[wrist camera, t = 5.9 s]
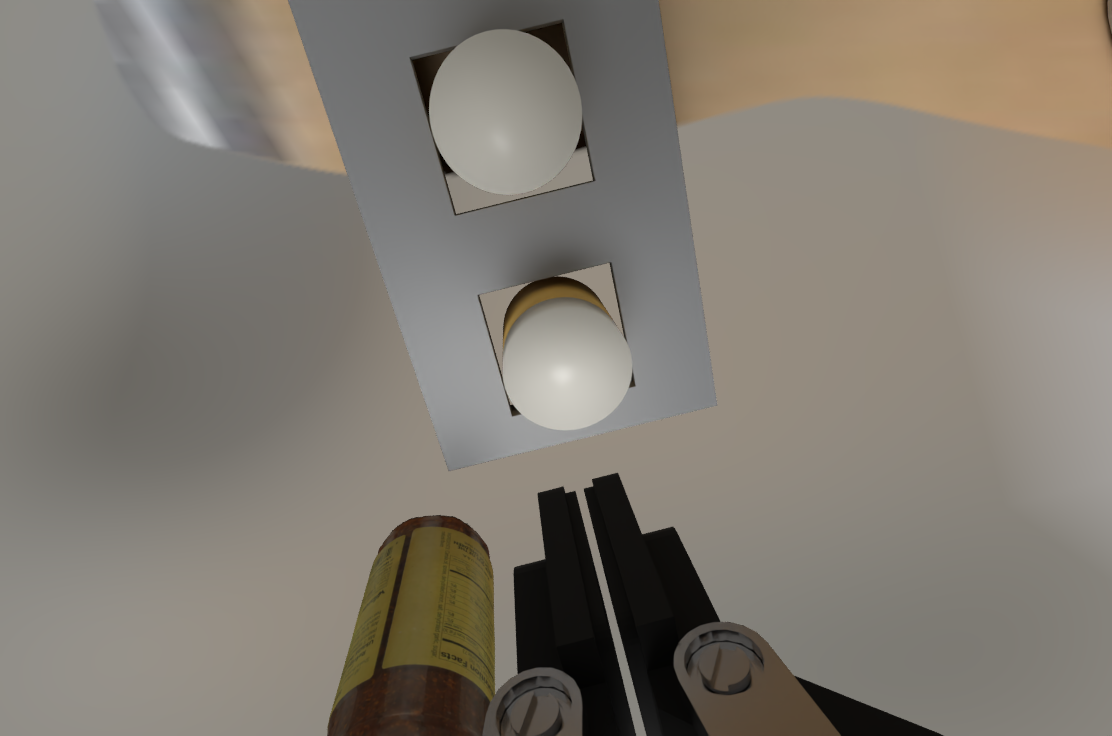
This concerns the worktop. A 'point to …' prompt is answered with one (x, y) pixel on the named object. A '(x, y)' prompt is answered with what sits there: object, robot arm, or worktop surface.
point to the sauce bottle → (422, 637)
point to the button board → (517, 207)
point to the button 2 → (563, 355)
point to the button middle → (505, 112)
